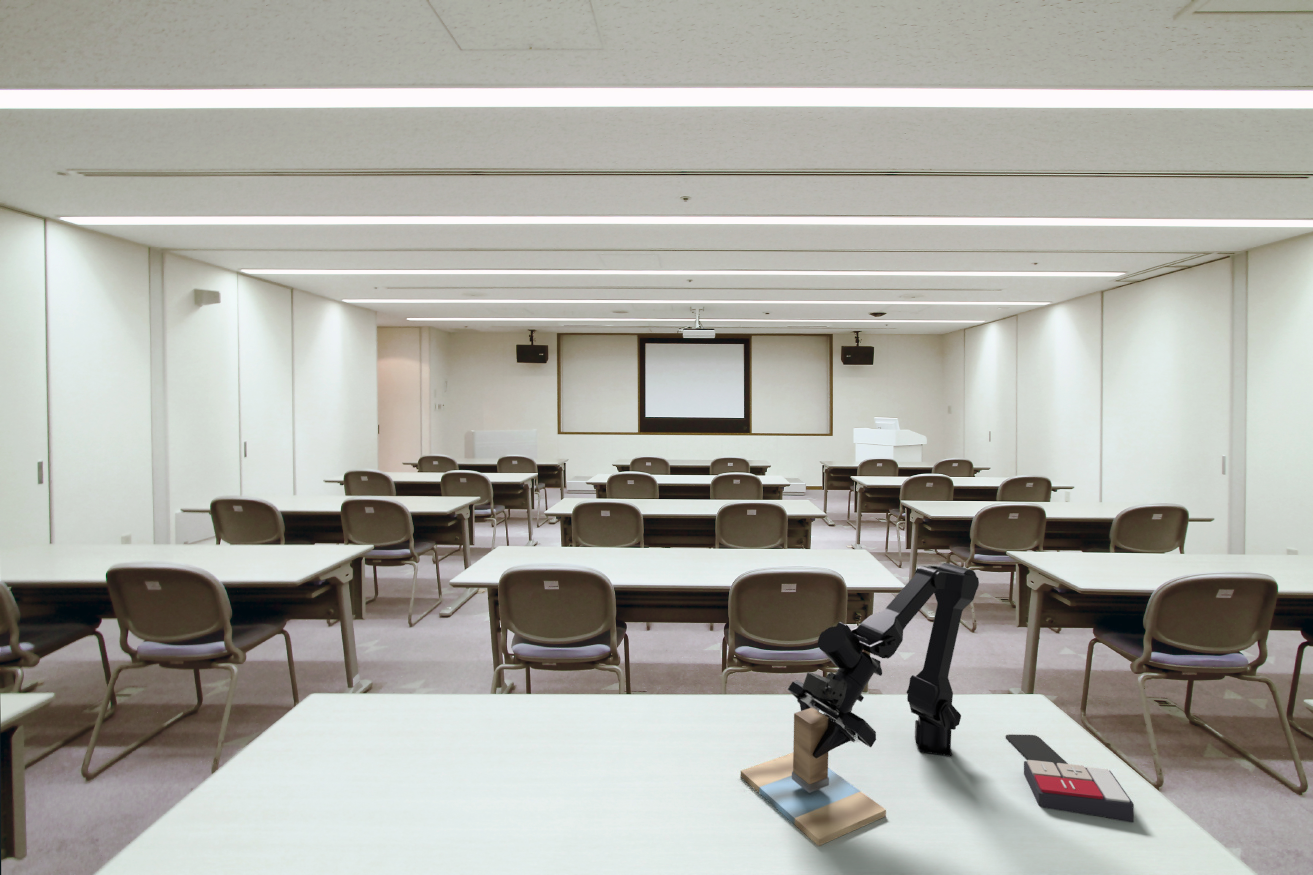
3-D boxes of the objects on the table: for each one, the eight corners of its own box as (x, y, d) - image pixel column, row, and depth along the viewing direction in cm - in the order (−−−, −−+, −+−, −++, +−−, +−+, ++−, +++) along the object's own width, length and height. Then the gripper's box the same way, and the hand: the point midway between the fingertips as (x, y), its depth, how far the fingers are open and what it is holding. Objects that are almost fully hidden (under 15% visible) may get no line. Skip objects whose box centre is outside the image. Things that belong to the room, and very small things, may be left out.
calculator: (1023, 756, 128) (1110, 765, 124) (1023, 777, 128) (1110, 787, 124) (1039, 789, 117) (1134, 800, 113) (1039, 811, 118) (1134, 823, 113)
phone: (1036, 734, 142) (1080, 774, 127) (1036, 738, 142) (1080, 778, 127) (1003, 734, 142) (1042, 773, 127) (1003, 737, 142) (1042, 777, 127)
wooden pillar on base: (811, 771, 124) (812, 706, 123) (828, 785, 119) (830, 718, 118) (791, 778, 121) (792, 712, 120) (809, 792, 117) (810, 724, 116)
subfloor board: (740, 776, 126) (740, 770, 126) (802, 754, 134) (802, 749, 134) (818, 845, 107) (818, 839, 107) (885, 815, 115) (886, 809, 115)
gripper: (795, 640, 129) (750, 706, 124) (866, 677, 112) (817, 754, 108) (824, 670, 133) (781, 734, 129) (896, 709, 117) (850, 785, 112)
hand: (805, 750), depth 119 cm, fingers closed on wooden pillar on base, 4 cm apart
